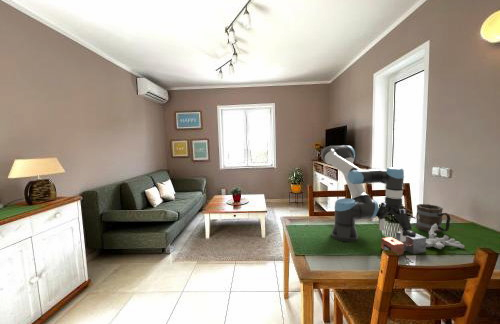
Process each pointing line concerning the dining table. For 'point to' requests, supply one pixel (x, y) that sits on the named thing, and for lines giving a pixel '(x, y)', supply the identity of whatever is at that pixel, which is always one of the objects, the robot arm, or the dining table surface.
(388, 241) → the red notched block
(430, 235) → the white irregular jagged piece
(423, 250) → the hitch
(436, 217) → the mug
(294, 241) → the dining table surface
